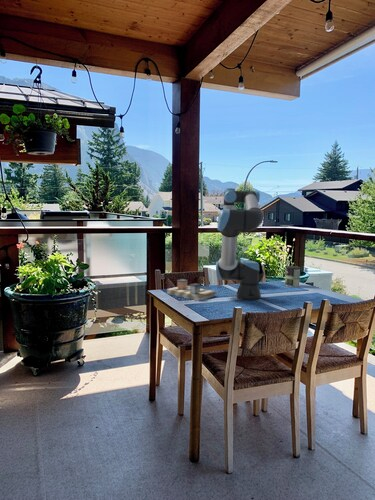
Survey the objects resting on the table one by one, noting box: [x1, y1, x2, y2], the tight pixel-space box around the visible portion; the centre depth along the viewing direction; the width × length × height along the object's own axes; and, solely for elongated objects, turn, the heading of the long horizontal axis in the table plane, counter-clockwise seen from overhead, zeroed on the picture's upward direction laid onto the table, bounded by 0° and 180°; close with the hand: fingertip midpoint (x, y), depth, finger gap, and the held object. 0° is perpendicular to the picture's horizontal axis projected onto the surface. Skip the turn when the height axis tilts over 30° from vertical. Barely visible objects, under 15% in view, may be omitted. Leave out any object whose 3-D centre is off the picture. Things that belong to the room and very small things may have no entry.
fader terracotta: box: [176, 278, 189, 289], centre depth 236 cm, size 4×5×5 cm
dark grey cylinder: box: [248, 258, 265, 283], centre depth 264 cm, size 20×20×19 cm
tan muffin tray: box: [166, 285, 216, 302], centre depth 232 cm, size 26×17×3 cm, turn 50°
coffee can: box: [284, 265, 301, 288], centre depth 267 cm, size 10×10×14 cm
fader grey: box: [188, 282, 201, 294], centre depth 224 cm, size 4×5×5 cm
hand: (227, 247), depth 246 cm, fingers closed
